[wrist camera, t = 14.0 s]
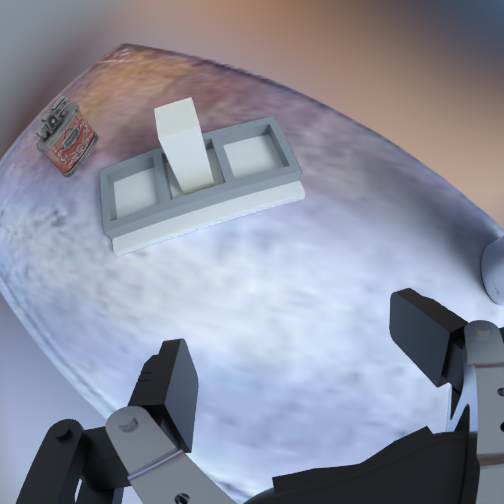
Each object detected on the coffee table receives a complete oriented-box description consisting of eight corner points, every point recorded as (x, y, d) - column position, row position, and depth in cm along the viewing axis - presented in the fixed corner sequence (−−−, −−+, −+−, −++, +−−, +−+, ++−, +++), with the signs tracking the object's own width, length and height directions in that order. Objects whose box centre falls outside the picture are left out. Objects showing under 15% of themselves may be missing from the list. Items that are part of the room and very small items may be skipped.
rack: (268, 123, 35) (269, 107, 32) (303, 198, 31) (308, 184, 28) (109, 173, 33) (99, 159, 30) (118, 256, 30) (105, 247, 27)
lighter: (72, 179, 33) (34, 139, 24) (59, 174, 34) (23, 136, 24) (102, 135, 35) (74, 90, 26) (88, 132, 36) (60, 90, 26)
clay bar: (206, 158, 32) (191, 97, 22) (214, 185, 31) (199, 125, 21) (178, 167, 32) (154, 108, 22) (184, 195, 30) (158, 138, 21)
